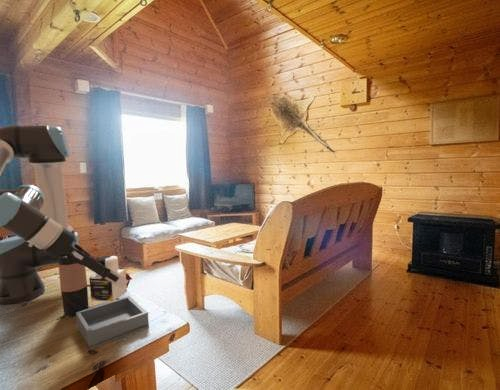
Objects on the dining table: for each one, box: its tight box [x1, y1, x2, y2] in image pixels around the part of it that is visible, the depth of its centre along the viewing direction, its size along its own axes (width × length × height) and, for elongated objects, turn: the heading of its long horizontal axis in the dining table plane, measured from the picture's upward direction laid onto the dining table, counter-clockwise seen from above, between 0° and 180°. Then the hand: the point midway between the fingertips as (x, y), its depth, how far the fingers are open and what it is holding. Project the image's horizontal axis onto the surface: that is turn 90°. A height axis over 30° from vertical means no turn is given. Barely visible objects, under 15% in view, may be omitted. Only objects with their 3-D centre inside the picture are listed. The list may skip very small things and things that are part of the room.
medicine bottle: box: [88, 254, 128, 303], centre depth 89 cm, size 7×7×12 cm
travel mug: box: [57, 253, 89, 318], centre depth 100 cm, size 8×8×20 cm
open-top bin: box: [75, 295, 150, 350], centre depth 91 cm, size 16×16×4 cm
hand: (119, 279), depth 91 cm, fingers closed on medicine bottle, 10 cm apart
